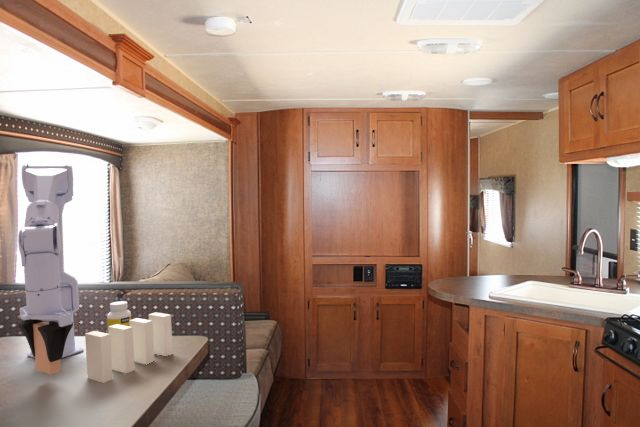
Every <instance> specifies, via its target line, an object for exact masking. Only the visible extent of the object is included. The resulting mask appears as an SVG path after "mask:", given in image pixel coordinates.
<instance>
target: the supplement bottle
mask: <svg viewBox="0 0 640 427" xmlns="http://www.w3.org/2000/svg"><path fill="white" fill-rule="evenodd" d="M128 307H129V305H128V301H125V300H119V301H114V302H110V303H109V310H110V311H109V312H108V313H107V316H106V321H107V323H106V324H107V328H108V327H109V326H112V325H115V324H120V325H125V326H130V324H129V320H132V313H131V310H129V309H128ZM107 333H108V334H109V332H108V331H107Z"/></svg>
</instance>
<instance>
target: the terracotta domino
mask: <svg viewBox="0 0 640 427" xmlns="http://www.w3.org/2000/svg"><path fill="white" fill-rule="evenodd" d="M45 325H49V322H44V321H43V322H39V323H36V324H33V331H34V347H35V358H34V359H35V361H34V362H35V370H36V371H38V372H41V373H45V374H47V375H52V374H55V373H58V372H61V371H62V367H61V365H62V364H61V359H60V360H57V361H54V362H49V360H48V357H47V351H46V346H45V342H44V340H43V337H42V335H41V333H40V332H39V330H38V327H41V326H45Z"/></svg>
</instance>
